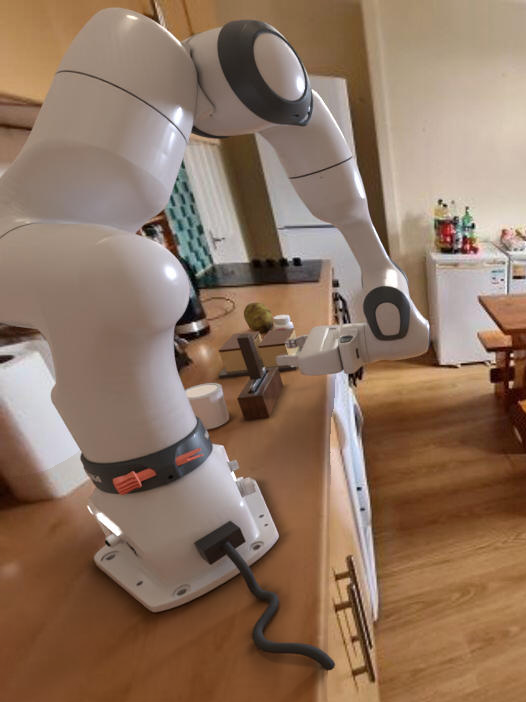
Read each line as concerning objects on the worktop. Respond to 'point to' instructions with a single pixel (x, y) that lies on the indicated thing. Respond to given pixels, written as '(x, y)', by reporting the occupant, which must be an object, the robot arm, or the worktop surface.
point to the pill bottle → (282, 322)
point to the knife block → (261, 396)
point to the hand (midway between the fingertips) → (282, 351)
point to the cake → (265, 348)
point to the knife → (251, 360)
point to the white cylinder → (208, 404)
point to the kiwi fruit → (258, 317)
